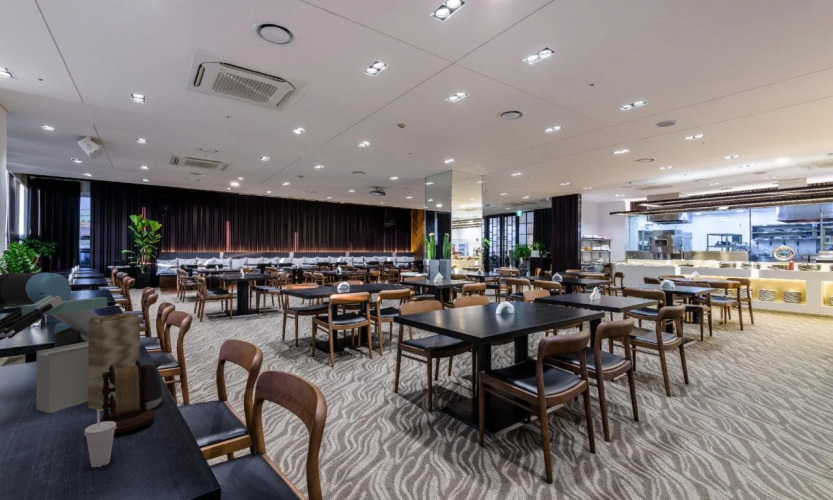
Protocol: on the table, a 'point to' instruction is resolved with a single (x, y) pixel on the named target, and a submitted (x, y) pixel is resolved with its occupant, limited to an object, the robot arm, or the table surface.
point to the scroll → (126, 398)
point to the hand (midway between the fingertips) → (57, 298)
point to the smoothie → (100, 441)
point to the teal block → (70, 306)
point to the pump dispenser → (153, 386)
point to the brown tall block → (110, 351)
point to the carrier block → (62, 377)
